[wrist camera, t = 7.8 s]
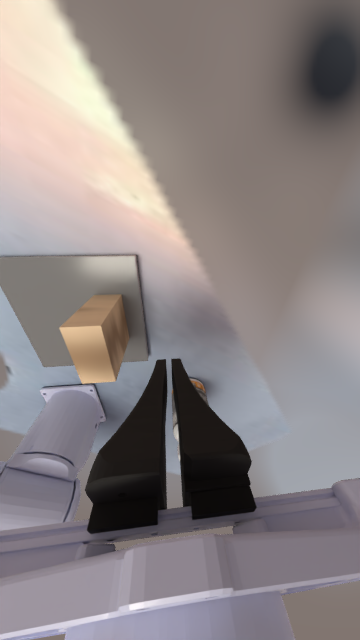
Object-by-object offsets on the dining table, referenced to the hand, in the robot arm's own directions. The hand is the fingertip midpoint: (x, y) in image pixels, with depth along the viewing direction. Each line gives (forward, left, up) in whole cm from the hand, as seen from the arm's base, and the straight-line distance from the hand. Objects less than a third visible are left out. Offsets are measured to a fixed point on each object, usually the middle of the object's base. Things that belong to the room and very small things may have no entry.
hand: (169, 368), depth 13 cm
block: (0, +7, -9) cm, 11 cm away
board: (0, +10, -10) cm, 14 cm away
